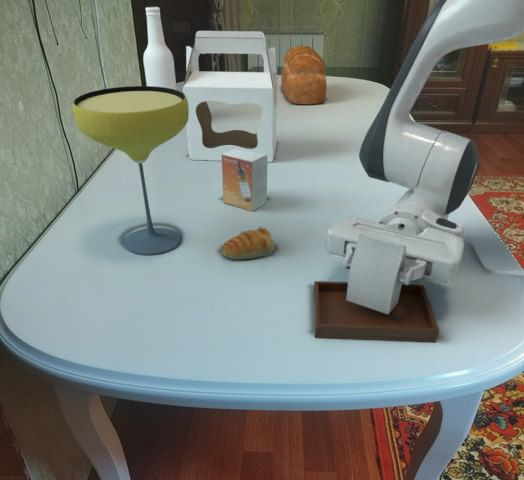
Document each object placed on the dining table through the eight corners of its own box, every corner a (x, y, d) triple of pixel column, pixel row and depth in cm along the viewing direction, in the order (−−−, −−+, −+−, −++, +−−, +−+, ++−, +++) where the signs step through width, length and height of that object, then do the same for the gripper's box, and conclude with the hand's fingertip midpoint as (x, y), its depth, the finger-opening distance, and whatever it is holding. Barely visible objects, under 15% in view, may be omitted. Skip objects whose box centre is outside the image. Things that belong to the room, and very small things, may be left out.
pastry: (232, 266, 89) (231, 247, 86) (215, 251, 93) (214, 232, 91) (278, 253, 92) (278, 234, 90) (259, 239, 97) (259, 220, 94)
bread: (315, 87, 196) (317, 41, 186) (327, 104, 176) (331, 53, 166) (279, 88, 195) (280, 42, 185) (288, 105, 175) (289, 54, 165)
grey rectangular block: (388, 314, 73) (400, 252, 67) (346, 300, 76) (353, 239, 70) (397, 302, 75) (410, 241, 69) (356, 289, 78) (364, 229, 72)
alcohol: (157, 127, 155) (142, 9, 136) (147, 120, 161) (132, 6, 142) (183, 123, 158) (173, 8, 139) (173, 116, 164) (161, 5, 145)
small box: (222, 203, 110) (220, 154, 103) (238, 195, 114) (236, 146, 107) (252, 212, 106) (252, 161, 100) (267, 203, 110) (268, 153, 103)
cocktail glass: (216, 248, 94) (206, 102, 78) (123, 275, 86) (91, 119, 71) (175, 213, 106) (160, 81, 90) (90, 234, 98) (57, 94, 83)
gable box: (188, 160, 132) (176, 34, 114) (198, 144, 142) (188, 26, 124) (273, 162, 130) (275, 35, 112) (277, 146, 140) (279, 27, 123)
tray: (420, 295, 81) (423, 284, 80) (436, 342, 72) (439, 330, 71) (313, 292, 82) (314, 280, 81) (314, 337, 73) (315, 326, 71)
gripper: (346, 201, 83) (310, 235, 74) (475, 229, 75) (452, 270, 66) (343, 236, 87) (307, 272, 78) (464, 266, 79) (441, 310, 70)
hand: (375, 272), depth 72 cm, fingers closed on grey rectangular block, 7 cm apart
